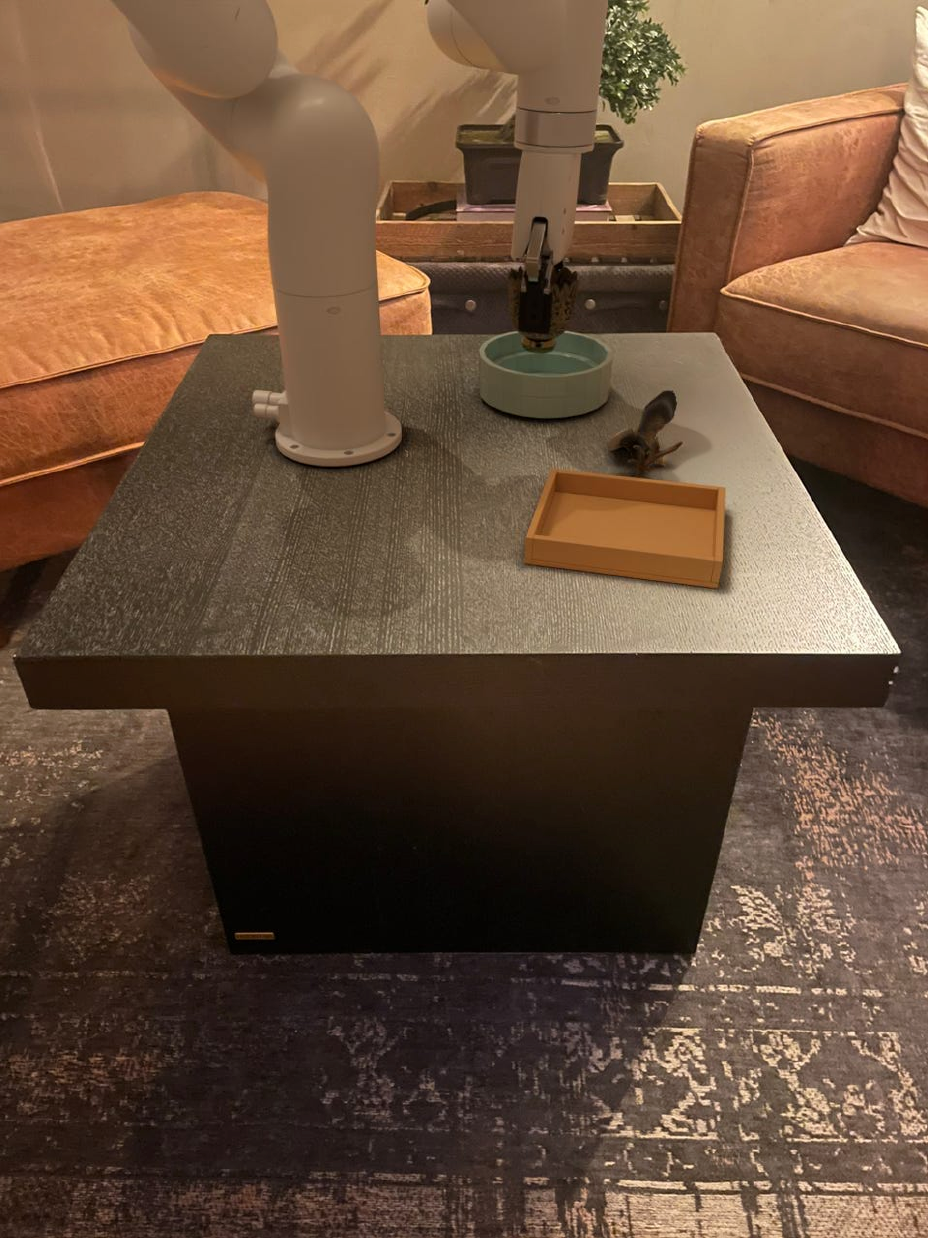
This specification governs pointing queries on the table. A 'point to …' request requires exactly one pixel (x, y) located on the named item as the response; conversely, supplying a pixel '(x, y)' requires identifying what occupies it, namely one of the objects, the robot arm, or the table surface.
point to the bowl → (545, 376)
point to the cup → (562, 308)
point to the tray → (629, 527)
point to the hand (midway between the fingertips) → (540, 318)
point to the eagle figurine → (648, 434)
